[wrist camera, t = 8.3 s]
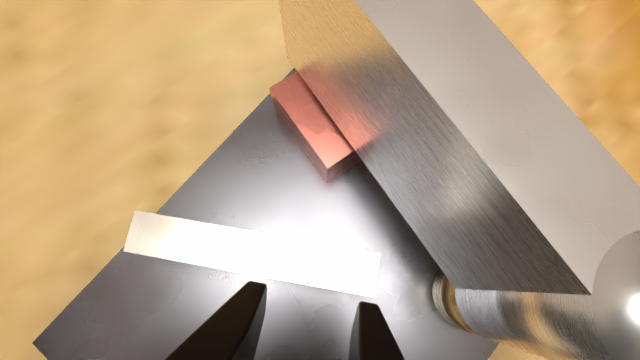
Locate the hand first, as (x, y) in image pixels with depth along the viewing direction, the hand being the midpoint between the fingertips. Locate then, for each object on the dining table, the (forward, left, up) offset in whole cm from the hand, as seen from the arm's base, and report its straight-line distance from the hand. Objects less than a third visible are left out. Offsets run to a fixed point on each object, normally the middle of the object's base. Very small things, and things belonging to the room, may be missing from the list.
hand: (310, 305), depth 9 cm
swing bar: (+5, 0, -5) cm, 7 cm away
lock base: (0, 0, -9) cm, 9 cm away
